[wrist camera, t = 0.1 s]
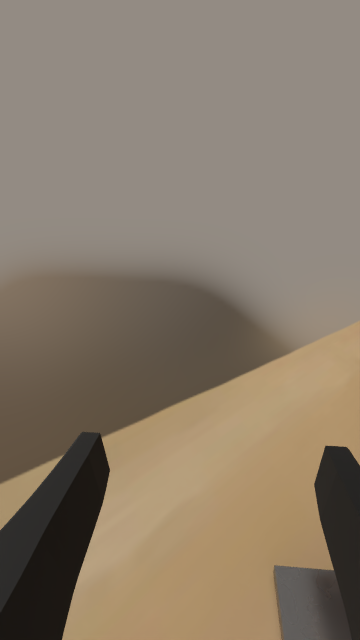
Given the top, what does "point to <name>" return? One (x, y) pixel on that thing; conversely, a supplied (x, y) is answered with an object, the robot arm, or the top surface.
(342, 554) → the robot arm
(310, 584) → the pivot stand
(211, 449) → the top surface
